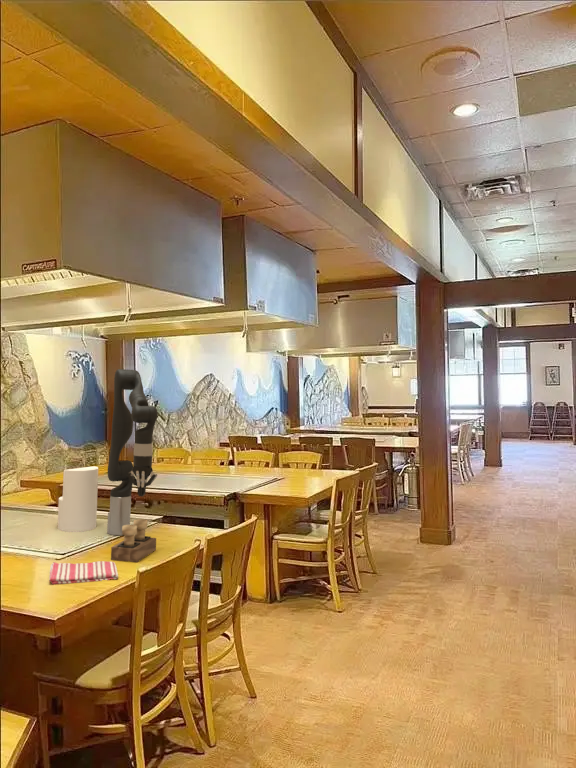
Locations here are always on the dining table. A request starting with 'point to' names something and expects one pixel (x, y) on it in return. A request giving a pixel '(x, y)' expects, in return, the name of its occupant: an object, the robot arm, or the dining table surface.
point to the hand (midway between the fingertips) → (141, 496)
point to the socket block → (133, 550)
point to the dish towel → (82, 572)
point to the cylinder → (78, 500)
